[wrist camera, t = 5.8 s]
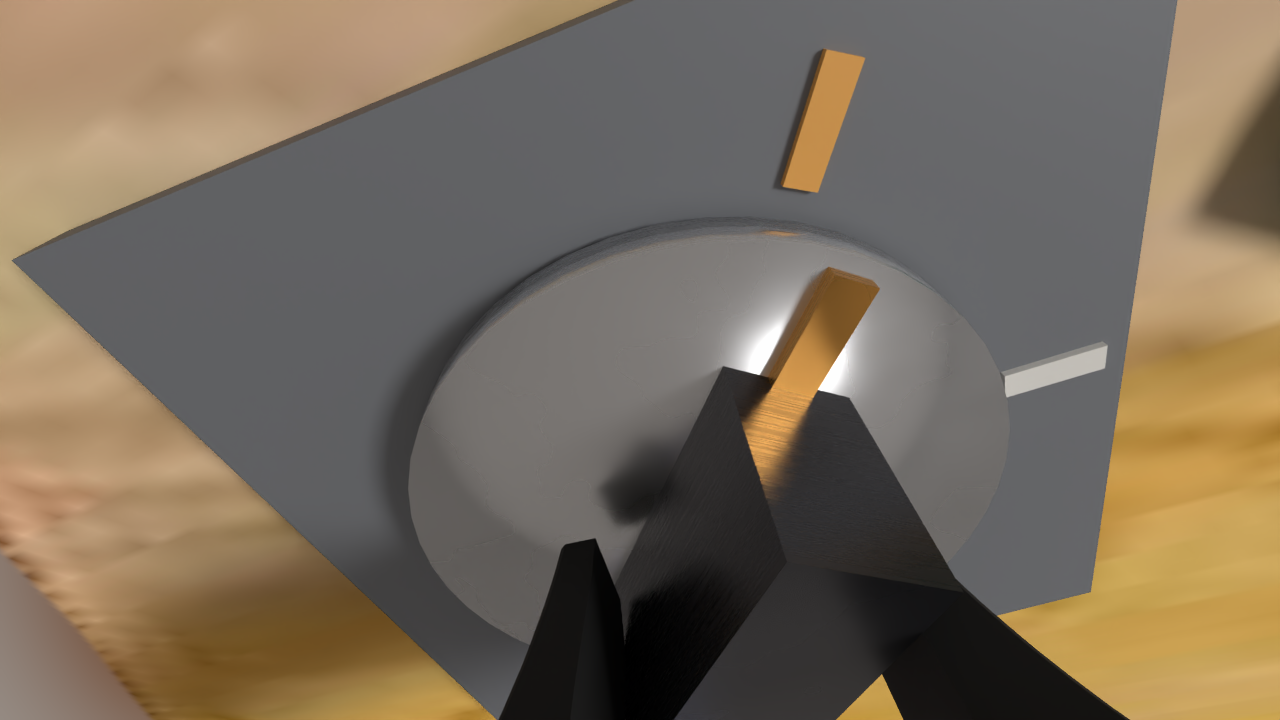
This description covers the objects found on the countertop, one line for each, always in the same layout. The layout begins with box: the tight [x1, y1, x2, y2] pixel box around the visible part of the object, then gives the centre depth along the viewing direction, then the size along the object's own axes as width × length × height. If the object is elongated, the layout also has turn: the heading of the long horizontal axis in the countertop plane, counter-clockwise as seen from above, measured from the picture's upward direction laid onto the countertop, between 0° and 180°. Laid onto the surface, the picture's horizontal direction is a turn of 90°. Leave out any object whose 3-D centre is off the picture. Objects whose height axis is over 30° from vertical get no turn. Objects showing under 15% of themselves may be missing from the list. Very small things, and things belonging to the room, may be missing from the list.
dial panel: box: [12, 0, 1177, 720], centre depth 14 cm, size 18×18×1 cm
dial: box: [408, 216, 1010, 720], centre depth 11 cm, size 12×12×5 cm
